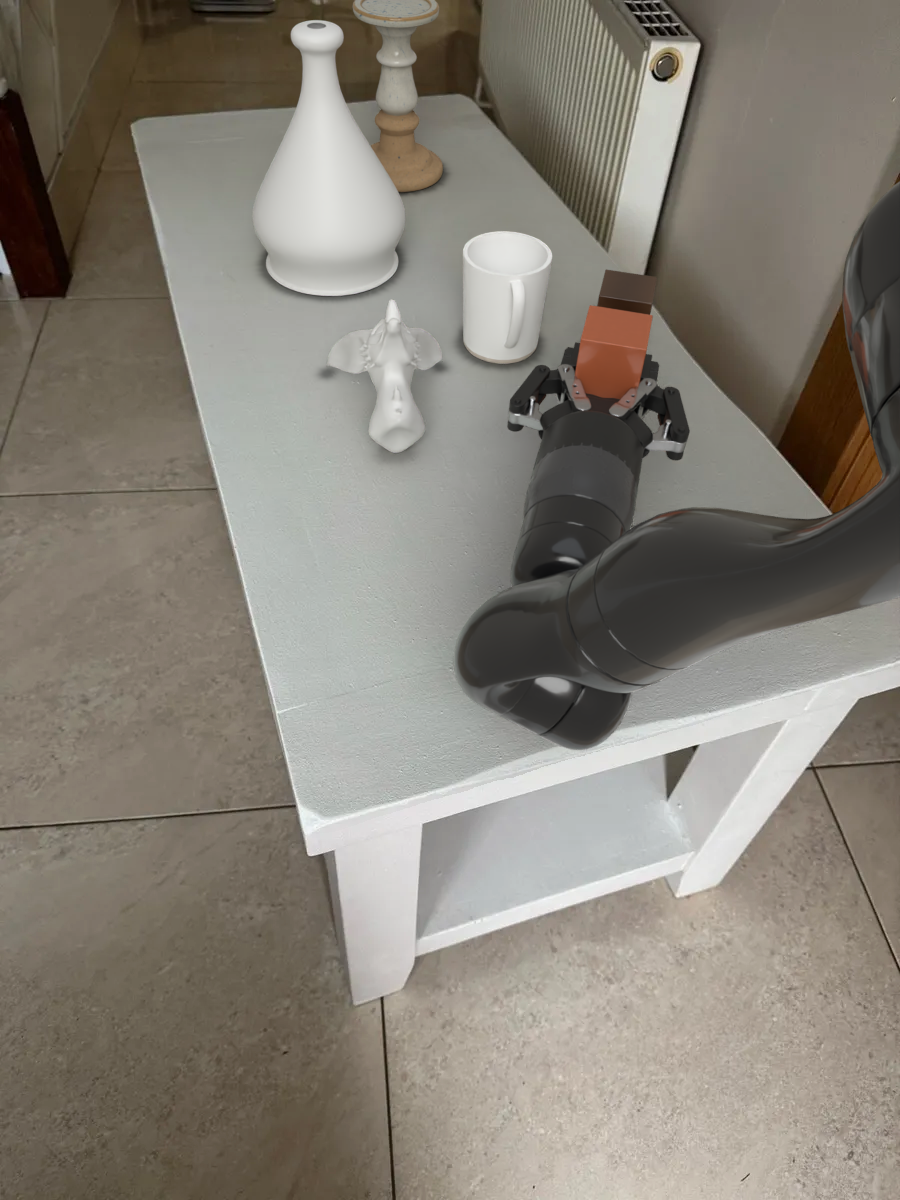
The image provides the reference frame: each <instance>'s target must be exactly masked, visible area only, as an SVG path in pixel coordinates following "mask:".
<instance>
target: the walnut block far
mask: <svg viewBox="0 0 900 1200" xmlns="http://www.w3.org/2000/svg"><path fill="white" fill-rule="evenodd" d="M657 281H658V277H657V276H651V275H647V274H639V273H632V272H625V271H621V270H613V269H605V271H604V274H603V278H602V281H601V286H600V290H599V294H598V298H597V305H596V306H598V307H604V308H610V309H617V310H623V311H629V312H635V313H642V314H648V315H651V313H652V308H653V303H654V297H655V292H656V287H657Z"/></svg>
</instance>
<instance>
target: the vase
mask: <svg viewBox="0 0 900 1200" xmlns="http://www.w3.org/2000/svg"><path fill="white" fill-rule="evenodd" d="M344 37H345V36H344V32H343V29H342V28H341V27H340V26H339V25H338V24H336V23H334V22H331V21H327V20H321V19H313V20H306V21H302V22H299V23H297V24H295V25H294V26H293V27H292V28H291V31H290V41H291V43H292V44H293V46H294V47H295V48H296V49H298V50H299V52H300V55H301V62H302V64H301V65H302V75H301V76H302V77H301V88H300V94H299V98H298V101H297V104H296V108H295V110H294V113H293V115H292V118H291V120H290V122H289V124H288V126H287V129H286V131H285V133H284V135H283V138H282V140H281V142H280V144H279V146H278V148H277V150H276V152H275V154H274V156H273V159H272V161H271V163H270V164H269V167H268V169H267V171H266V173H265V175H264V177H263V179H262V182H261V184H260V186H259V188H258V191H257V193H256V195H255V198H254V202H253V206H252V212H251V213H252V214H251V215H252V217H251V219H252V220H251V221H252V226H253V229H254V232H255V235H256V236H257V239H258V240H259V242H260V244H261V245H262V247H263V248H264V249H265V251H266V252H267V256H266V259H265V268H266V270H267V273H268V274H269V276H270V277H272V279H273V280H274V281H276V282H277V284H280V285H282V286H283V287H285V288H287V289H289V290H292V291H295V292H298V293H302V294H307V295H313V296H322V297H341V296H349V295H354V294H359V293H363V292H367V291H369V290H373V289H375V288H377V287H379V286H381V285H383V284H384V283H386V282H387V281H388V280H390V278H391V277H393V275H394V274H395V273H396V271H397V270H398V267H399V255H398V253H397V252H396V248H397V246H398V244H399V242H400V240H401V238H402V236H403V234H404V230H405V227H406V219H407V218H406V217H407V215H406V209H405V205H404V202H403V199H402V197H401V195H400V192H398V191H397V189H396V187H395V185H394V183H393V182H392V180H391V178H390V177H389V175H388V173H387V172H386V170H385V168H384V167H383V165H382V164H381V162H380V160H379V159H378V157H377V156H376V154H375V153H374V151H373V149H372V148H371V144H370V142H369V141H368V139H367V138H366V136H365V134H364V132H362V129H361V128H360V126H359V124H358V123H357V121H356V120H355V118H354V116H353V114H352V112H351V110H350V108H349V106H348V104H347V102H346V100H345V97H344V95H343V93H342V88H341V86H340V82H339V76H338V71H337V64H336V62H337V61H336V54H337V50H338V49H339V48H340V47H341V46H342V44H343V43H344Z"/></svg>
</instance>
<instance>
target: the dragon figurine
mask: <svg viewBox="0 0 900 1200" xmlns="http://www.w3.org/2000/svg"><path fill="white" fill-rule="evenodd" d="M439 362H441V363H443V362H444V360H443V351H442V348H441V346H440V344H439V342H438V340H437V339H436V338H435V337H434V336H433V335H432V333H429V332H428V331H427V330H425V329H424V328H421V327H413V326H410V327H408V326H407V325H406V324H405V322H404V321H403V320H402V315H401V311H400V309H399V306H398V303H397V301H396V300H395V299H392V298H391V299H389V301H388V302H387V306H386V310H385V315H384V318H382V319H380V320H379V321H378V322H377V323H376V325H375V326H374V327H372V328H368V329H364V328H363V329H359V330H353V331H351V332H349V333H347V334H345V335H343V336H342V337H340V338H339V339H338V340H337V341H336V342H335V343H334V344H333V345H332V347H331V349H330V351H329V353H328V356H327V359H326V367H329V366H330V367H333V368H337V369H339V370H341V371H342V372H345V373H349V374H355V375H357V374H361V373H364V372H368V374H369V377H370V380H371V382H372V384H373V387H374V389H375V391H376V401H375V404H374V405H375V406H374V408H373V411H372V414H371V416H370V419H369V423H368V435H369V437H370V439H371V440H372V441H374V442H375V443H376V444H378V445H379V446H381V447H382V448H384V449H386V450H387V451H389V452H390V453H392V454H400V453H402V452H404V451H406V450H407V449H408V448H410V447H411V446H412V445H414V444H415V443H417V442H418V441H419V440H420V439H422V437H423V436H424V434H425V433H426V424H425V419H424V418H423V415H422V412H421V410H420V409H419V408H418V405H417V404H416V402H415V401H416V400H415V398H414V396H413V392H412V390H411V386H412V381H413V377H414V373H415V370H416V369H417V370H421V371H426V370H429V369H431V368H433V367H434V366H435V365H436V364H437V363H439Z"/></svg>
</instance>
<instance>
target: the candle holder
mask: <svg viewBox="0 0 900 1200" xmlns="http://www.w3.org/2000/svg"><path fill="white" fill-rule="evenodd" d="M352 12H353V15H354V16H355V18H357V19H358V20H360V21H362V22H363V23H365V24H369V25H372V26H374V28H375V29H376V30H377V32H378V33H379V34H380V37H381V39H382V43H381V44H382V45H381V48H380V49H379V50H378V51H377V52H376V55H375V58H376V60H377V62H378V63H379V64H380V66H381V67H380V76H379V81H378V85H377V88H376V92H375V103H376V105H377V107H378V108H379V109H380V110H379V111H378V112H377V114H376V115H375V117H374V124H375V125H376V127H377V129H378V130H379V131H380V133H379V141H377V142H375V143H372V144H370V146H371V148H372V149H373V151H374V153H375V154H376V156H377V157H378V159H379V160H380V162H381V164H382V165H383V167H384V168H385V170H386V172H387V173H388V175H389V177H390V178H391V180H392V182H393V183H394V185H395V187H396V189H397V191H398V193H409V192H416V191H421V190H424V189H427V188H429V187H431V186H433V185H435V184H437V182H439V181H440V179H441V178H442V175H443V171H444V170H443V169H444V165H443V161H442V159H441V158H440V157H439V155H438V154H436V153H435V152H434V151H432V150H430V149H428V148H427V147H426V146H424V145H423V144H422V143H419V142H416V139H415V138H416V137H415V130H416V129H417V127H419V125H420V117H419V115H418V114H417V113H416V112H415V111H414V110H415V109H416V107H417V105H418V103H419V94H418V90H417V87H416V83H415V79H414V74H413V65H414V64H415V63H416V61H417V58H418V57H417V54H416V53H415V51H414V50H413V49H412V46H411V38H412V35H413V34H414V33H415V32H416V31H417V30H418V29H417V28H418V27H421V26H425V25H427V24H429V23H432V22H433V21H435V20H436V19H437V18H438V16H439V15H440V6H439V3H438V2H437V0H353V3H352Z"/></svg>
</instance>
